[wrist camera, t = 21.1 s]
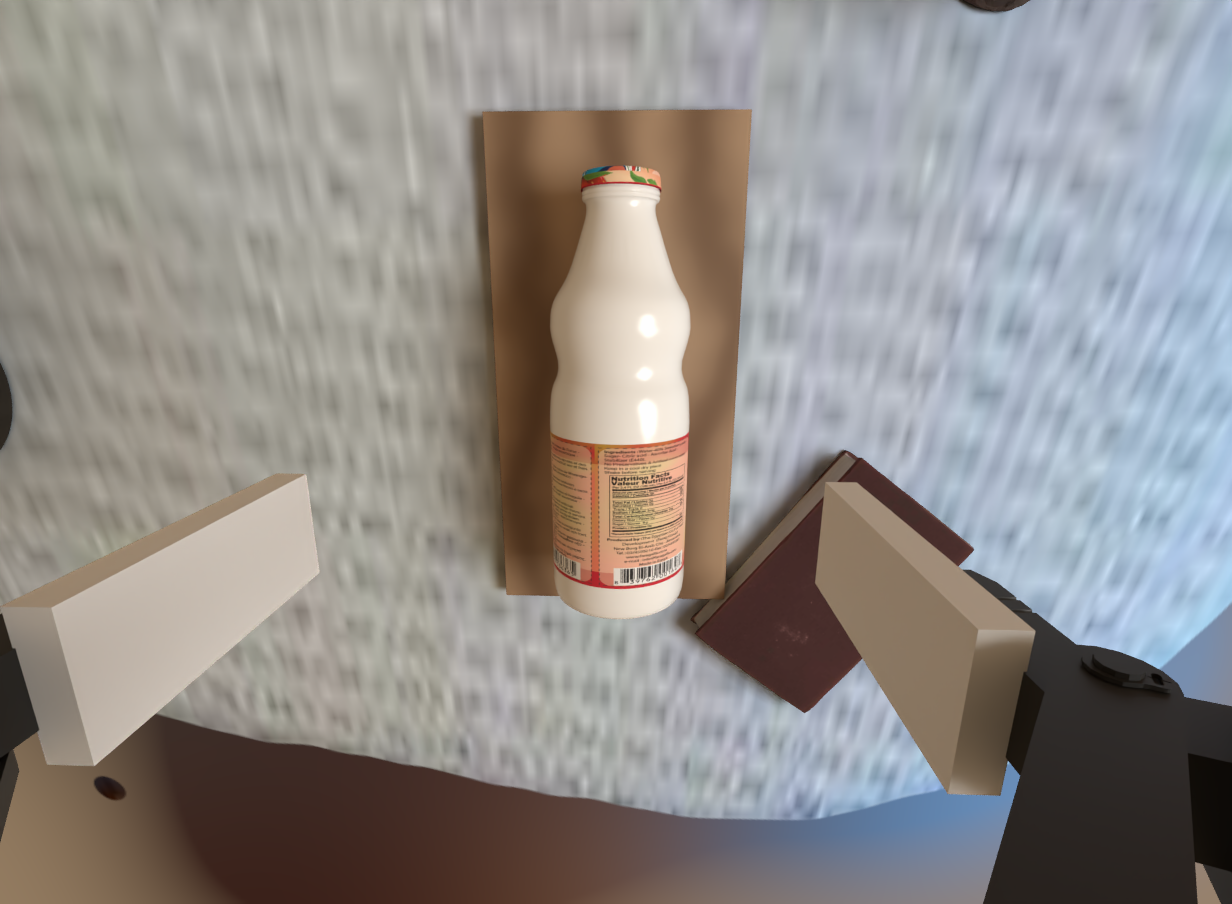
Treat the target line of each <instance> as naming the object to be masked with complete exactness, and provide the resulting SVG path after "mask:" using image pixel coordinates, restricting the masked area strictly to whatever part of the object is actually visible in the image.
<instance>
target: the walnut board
mask: <svg viewBox="0 0 1232 904" xmlns="http://www.w3.org/2000/svg"><path fill="white" fill-rule="evenodd" d="M751 113H752V110H632V111H507V112H483V130H484V150H485V171H486V191H487V211H488V231H489V251H490V271H491V291H492V311H493V331H494V351H495V371H496V392H497V412H498V432H499V452H500V472H501V492H502V512H503V532H504V552H505V572H506V592H507V595H540V596H559V594H558V592H557V589H556V585H555V579H554V555H553V515H552V473H551V436H550V402H551V392H552V387H553V384H554V382H555V379H556V377H557V373H558V359H557V355H556V352H555V348H554V345H553V341H552V337H551V332H550V314H551V308H552V304H553V301H554V299H555V297H556V295H557V293H558V292H559V290H560V288H561V287H562V285H563V283H564V281H565V279H566V277H567V275H568V273H569V270H570V267H571V265H572V262H573V259H574V255H575V252H576V249H577V246H578V242H579V239H580V235H581V232H582V228H583V225H584V221H585V217H586V204H585V203H583V201H582V192H581V180H582V174H583V173H584V172H585V171H586V170H589V169H592V168H597V167H604V166H638V167H645V168H649V169H653V170H655V171H657V172H659V174H660V178H661V192H660V201H659V203H658V204H656V217H657V221H658V224H659V228H660V231H661V234H662V238H663V242H664V245H665V249H666V252H667V255H668V258H669V262H670V265H671V268H672V271H673V274H674V276H675V279H676V281H677V283H678V285H679V287H680V289H681V291H682V292H683V294H684V296H685V298H686V300H687V302H688V305H689V310H690V326H691V329H690V335H689V339H688V343H687V346H686V350H685V353H684V356H683V360H682V374H683V378H684V381H685V383H686V386H687V389H688V395H689V439H688V465H687V493H686V520H685V547H684V573H683V582H682V588H681V591H680V594H679V596H678V597H677V598H682V599H724V592H725V575H726V557H727V539H728V521H729V504H730V486H731V468H732V450H733V433H734V415H735V397H736V380H737V362H738V344H739V326H740V309H741V291H742V273H743V255H744V238H745V220H746V202H747V184H748V167H749V149H750V131H751Z"/></svg>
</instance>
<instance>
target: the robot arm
mask: <svg viewBox="0 0 1232 904" xmlns="http://www.w3.org/2000/svg"><path fill="white" fill-rule="evenodd" d="M11 421H12V399H11V393H10V388H9V384H8V381H7V378H6V375H5V372H4V370H3V368H2V366H1V364H0V449H1V448H2V446H3V445H4V443H5V441H6V439H7V436H8V434H9V430H10V426H11ZM319 573H320V572H319V564H318V557H317V550H316V543H315V535H314V528H313V521H312V514H311V506H310V499H309V492H308V484H307V477H306V474H275V475H273V476H271V477H268V478H266V479H264V480H262V481H260V482H258V483H256V484H254V485H252V486H250V487H248V488H246V489H244V490H241V491H239V492H237V493H235V494H233V495H231V496H229V497H227V498H225V499H223V500H221V501H219V502H217V503H214V504H212V505H210V506H208V507H206V508H204V509H202V510H200V511H198V512H196V513H194V514H192V515H190V516H187V517H185V518H183V519H181V520H179V521H177V522H175V523H173V524H171V525H169V526H167V527H165V528H162V529H160V530H158V531H156V532H154V533H152V534H150V535H148V536H146V537H144V538H142V539H140V540H138V541H135V542H133V543H131V544H129V545H127V546H125V547H123V548H121V549H119V550H117V551H115V552H113V553H111V554H108V555H106V556H104V557H102V558H100V559H98V560H96V561H94V562H92V563H90V564H88V565H86V566H84V567H81V568H79V569H77V570H75V571H73V572H71V573H69V574H67V575H65V576H63V577H61V578H59V579H57V580H54V581H52V582H50V583H48V584H46V585H44V586H42V587H40V588H38V589H36V590H34V591H32V592H30V593H27V594H25V595H23V596H21V597H19V598H17V599H15V600H13V601H11V602H9V603H7V604H5V605H3V606H0V608H1V611H2V614H0V841H1V837H2V834H3V830H4V826H5V822H6V818H7V814H8V811H9V807H10V803H11V800H12V796H13V792H14V788H15V784H16V780H17V777H18V773H19V768H18V764H17V760H16V757H15V754H14V751H13V749H14V748H15V747H16V746H18V745H19V744H21V743H22V742H23V741H25V740H26V739H28V738H29V737H30V736H32V735H33V734H35V733H36V732H38V736H39V739H40V742H41V746H42V749H43V753H44V756H45V759H46V763H47V764H48V765H79V766H95V765H96V764H97V763H98V762H99V761H101V760H102V759H103V758H104V757H105V756H107V755H108V754H109V753H110V752H111V751H112V750H114V748H116V747H117V746H118V745H119V744H120V743H122V742H123V741H124V740H125V739H126V738H127V737H129V736H130V735H131V734H132V733H133V732H135V731H136V730H137V729H138V728H139V727H140V726H141V725H143V724H144V723H145V722H146V721H147V720H148V719H149V718H151V717H152V716H153V715H154V714H155V713H157V712H158V711H159V710H160V709H161V708H162V707H164V706H165V705H166V704H167V703H168V702H169V701H171V700H172V699H173V698H174V697H175V696H176V695H178V694H179V693H180V692H181V691H182V690H183V689H185V688H186V687H187V686H188V685H189V684H190V683H192V682H193V681H194V680H195V679H196V678H197V677H199V676H200V675H201V674H202V673H203V672H204V671H206V670H207V669H208V668H209V667H210V666H211V665H213V664H214V663H215V662H216V661H217V660H218V659H220V658H221V657H222V656H223V655H224V654H225V653H227V652H228V651H229V650H230V649H231V648H232V647H234V646H235V645H236V644H237V643H238V642H239V641H241V640H242V639H243V638H244V637H245V636H246V635H247V634H249V633H250V632H251V631H252V630H253V629H254V628H256V627H257V626H258V625H259V624H260V623H261V622H263V621H264V620H265V619H266V618H267V617H268V616H270V615H271V614H272V613H273V612H274V611H275V610H277V609H278V608H279V607H280V606H281V605H282V604H284V603H285V602H286V601H287V600H288V599H289V598H291V597H292V596H293V595H294V594H295V593H296V592H298V591H299V590H300V589H301V588H302V587H303V586H305V585H306V584H307V583H308V582H309V581H310V580H312V579H313V578H314V577H315V576H316V575H317V574H319ZM815 584H816V585H817V587H818V588H819V590H820V592H821V593H822V595H823V596H824V598H825V599H826V601H827V603H828V604H829V606H830V607H831V609H832V611H833V612H834V614H835V615H836V617H837V619H838V620H839V622H840V623H841V625H842V626H843V628H844V630H845V631H846V633H847V634H848V636H849V638H850V639H851V641H852V642H853V644H854V646H855V647H856V649H857V650H858V652H859V653H860V655H861V657H862V658H863V660H864V661H865V663H866V665H867V666H868V668H869V669H870V671H871V673H872V674H873V676H874V677H875V679H876V680H877V682H878V684H879V685H880V687H881V688H882V690H883V692H884V693H885V695H886V696H887V698H888V700H889V701H890V703H891V704H892V706H893V707H894V709H895V711H896V712H897V714H898V715H899V717H900V719H901V720H902V722H903V723H904V725H905V727H906V728H907V730H908V731H909V733H910V734H911V736H912V738H913V739H914V741H915V742H916V744H917V746H918V747H919V749H920V750H921V752H922V754H923V755H924V757H925V758H926V760H927V762H928V763H929V765H930V766H931V768H932V769H933V771H934V773H935V774H936V776H937V777H938V779H939V781H940V782H941V784H942V785H943V787H944V789H945V790H946V792H947V793H948V794H967V795H999V796H1000V795H1001V790H1002V785H1003V780H1004V776H1005V771H1006V767H1007V762H1008V761H1009V762H1010V763H1011V765H1012V766H1013V767H1014V768H1015V770H1016V771H1017V772H1018V773H1019V775H1020V779H1019V782H1018V786H1017V790H1016V793H1015V796H1014V799H1013V803H1012V807H1011V810H1010V813H1009V817H1008V820H1007V823H1006V827H1005V830H1004V834H1003V838H1002V841H1001V844H1000V848H999V851H998V855H997V858H996V861H995V865H994V868H993V872H992V875H991V878H990V882H989V885H988V890H987V892H986V896H985V899H984V902H983V904H1198V903H1197V889H1196V888H1197V887H1196V873H1195V862H1197V863H1201V864H1203V866H1204V868H1205V870H1206V872H1207V874H1208V877H1209V878H1210V881H1211V883H1212V885H1213V887H1214V889H1215V891H1216V894H1217V896H1218V898H1219V900H1220V902H1221V904H1232V706H1227V705H1221V704H1217V703H1212V702H1207V701H1201V700H1196V699H1191V698H1186V697H1184V694H1183V692H1182V690H1181V689H1180V687H1179V685H1178V683H1176V682H1175V681H1174V680H1173V679H1171V678H1170V677H1169V676H1168V675H1167V674H1165V673H1164V672H1163V671H1161V670H1159V669H1157V668H1155V667H1153V666H1152V665H1150V664H1148V663H1146V662H1144V661H1142V660H1139V659H1137V658H1134V657H1131V656H1129V655H1126V654H1123V653H1121V652H1118V651H1114V650H1109V649H1105V648H1101V647H1097V646H1086V645H1076V644H1075V643H1074V642H1072V641H1071V640H1070V639H1068V638H1067V637H1066V636H1065V635H1063V634H1062V633H1061V632H1060V631H1058V630H1057V629H1056V628H1054V627H1053V626H1052V625H1051V624H1049V623H1048V622H1047V621H1046V620H1044V619H1043V618H1042V617H1040V616H1039V615H1038V614H1037V613H1032V610H1031V609H1030V608H1029V607H1028V606H1026V605H1025V604H1024V603H1023V602H1021V601H1020V600H1016V597H1015V596H1014V595H1012V594H1011V593H1010V592H1009V591H1007V590H1006V589H1005V588H1003V587H1002V586H1001V585H1000V584H998V583H997V582H995V581H993V580H991V579H989V578H986V577H984V576H982V575H980V574H978V573H976V572H974V571H972V570H962V569H960V568H959V567H958V566H957V565H956V564H954V563H953V562H952V561H951V560H950V559H948V558H947V557H946V556H945V555H944V554H942V553H941V552H940V551H939V550H938V549H936V548H935V547H934V546H933V545H931V544H930V543H929V542H928V541H927V540H925V539H924V538H923V537H922V536H921V535H919V534H918V533H917V532H916V531H915V530H913V529H912V528H911V527H910V526H909V525H907V524H906V523H905V522H904V521H903V520H901V519H900V518H899V517H898V516H897V515H895V514H894V513H893V512H892V511H891V510H889V509H888V508H887V507H886V506H884V505H883V504H882V503H881V502H880V501H878V500H877V499H876V498H875V497H874V496H872V495H871V494H870V493H869V492H868V491H866V490H865V489H864V488H863V487H862V486H860V485H859V484H858V483H857V482H825V491H824V501H823V511H822V521H821V530H820V540H819V550H818V560H817V570H816V579H815Z"/></svg>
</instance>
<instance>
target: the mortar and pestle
mask: <svg viewBox="0 0 1232 904" xmlns="http://www.w3.org/2000/svg"><path fill="white" fill-rule="evenodd" d="M964 1H966V2H968V3H970V4H972V5H974V6H976V7H979V8H983V9H986V10H990V11H1009V10H1012V9H1014V8H1016V7H1019V6H1022V5H1024V4H1025V3H1027V2H1028V1H1030V0H964Z"/></svg>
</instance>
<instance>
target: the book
mask: <svg viewBox="0 0 1232 904" xmlns="http://www.w3.org/2000/svg"><path fill="white" fill-rule="evenodd" d="M825 482H857V483H858V484H859V485H860V486H862V487H863V488H864V489H865V490H866V491H868V492H869V493H870V494H871V495H872V496H874V497H875V498H876V499H877V500H878V501H880V502H881V503H882V504H883V505H884V506H886V507H887V508H888V509H889V510H891V511H892V512H893V513H894V514H895V515H897V516H898V517H899V518H900V519H901V520H903V521H904V522H905V523H906V524H907V525H909V526H910V527H911V528H912V529H913V530H915V531H916V532H917V533H918V534H919V535H921V536H922V537H923V538H924V539H925V540H927V541H928V542H929V543H930V544H931V545H933V546H934V547H935V548H936V549H938V550H939V551H940V552H941V553H942V554H944V555H945V556H946V557H947V558H948V559H950V560H951V561H952V562H953V563H954V564H956V565H957V566H959V565H960V564H961V563H962V562H963V561H964V560H965V559H966V558H967V557H968V556H969V555H970V554H971V553H972V552H973V551H974V549H973V547H972V546H971V545H970V544H969V543H967V542H966V541H965V540H963V539H962V538H961V537H960V536H958V535H957V534H956V533H955V532H953V531H952V530H951V529H950V528H949V527H947V526H946V525H945V524H944V523H942V522H941V521H940V520H939V519H937V518H936V517H935V516H934V515H933V514H932V513H930V512H929V511H928V510H927V509H925V508H924V507H923V506H921V505H920V504H919V503H918V502H916V501H915V500H914V499H913V498H911V497H910V496H909V495H908V494H906V493H905V492H904V491H902V490H901V489H900V488H898V487H897V486H896V485H895V484H894V483H892V482H891V481H890V480H889V479H887V478H886V477H885V476H884V475H882V474H881V473H880V472H878V471H877V470H876V469H875V468H873V467H872V466H871V465H870V464H869V463H867V462H866V461H865V460H864V459H862V458H857V457H856V456H855V455H853V454H852V453H850V452H848V451H846V450H845V451H844V452H843V453H842V454H841V455H840V456H839V457H838V458H837V459H836V460H835V461H834V462H833V463H832V464H831V465H830V466H829V467H828V469H827V470H826V471H825V472H824V473H823V474H822V475H821V476H820V478H819V479H818V480H817V481H816V482H815V483H814V484H813V485H812V486H811V488H810V489H809V490H808V491H807V492H806V493H805V494H804V496H803V497H802V498H801V499H800V500H799V501H798V503H797V504H796V505H795V506H794V507H793V508H792V510H791V511H790V512H789V513H788V514H787V515H786V517H785V518H784V519H783V520H782V521H781V522H780V524H779V525H778V526H777V527H776V528H775V529H774V530H773V531H772V532H771V534H770V535H769V536H768V537H767V538H766V539H765V540H764V542H763V543H762V544H761V545H760V546H759V547H758V548H757V549H756V550H755V552H754V553H753V554H752V555H751V556H750V557H749V558H748V560H747V561H746V562H745V563H744V564H743V565H742V566H741V567H740V568H739V570H738V571H737V572H736V573H735V574H734V575H733V576H732V577H731V578H730V579H729V581H728V582H727V583H726V584H725V592H724V599H710V600H709V601H708V602H707V603H706V604H705V605H704V606H703V607H702V608H701V609H700V610H699V611H698V612H697V613H696V614H695V615H694V616H693V617H692V618H691V621H693V622H694V623H696V624H697V625H698V628H699V629H698V630H697V631H696V633H695V634H696V635H697V636H698V637H699V638H701V639H702V640H703V641H704V642H706V643H707V644H708V645H709V646H711V647H712V648H713V649H714V650H716V651H717V652H718V653H720V654H721V655H722V656H724V657H725V658H726V659H728V660H729V661H731V662H732V663H734V664H735V665H737V666H738V667H740V668H741V669H742V670H744V671H745V672H746V673H748V674H749V675H751V676H752V677H753V678H755V679H756V680H758V681H759V682H761V683H762V684H763V685H765V686H766V687H768V688H769V689H770V690H772V691H773V692H774V693H776V694H777V695H779V696H780V697H781V698H783V699H784V700H786V701H787V702H789V703H790V704H792V705H793V706H795V707H796V708H798V709H799V710H801V711H802V712H804V713H805V712H807V711H809V710H810V709H811V708H813V707H814V706H815V705H816V704H817V703H818V702H819V700H820V699H821V698H822V697H823V696H824V695H825V694H826V693H827V692H828V691H829V690H830V689H832V688H833V687H834V686H835V685H836V684H837V683H838V682H839V681H840V680H841V679H842V678H843V677H844V676H845V675H846V674H847V673H848V672H849V671H850V670H851V669H852V668H853V667H854V666H855V665H856V664H857V663H858V662H859V661H860V660H861V659H862V657H861V655H860V653H859V652H858V650H857V649H856V647H855V646H854V644H853V642H852V641H851V639H850V638H849V636H848V634H847V633H846V631H845V630H844V628H843V626H842V625H841V623H840V622H839V620H838V619H837V617H836V615H835V614H834V612H833V611H832V609H831V607H830V606H829V604H828V603H827V601H826V599H825V598H824V596H823V595H822V593H821V592H820V590H819V588H818V587H817V585H816V584H815V579H816V570H817V560H818V550H819V540H820V530H821V521H822V511H823V501H824V491H825Z"/></svg>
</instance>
